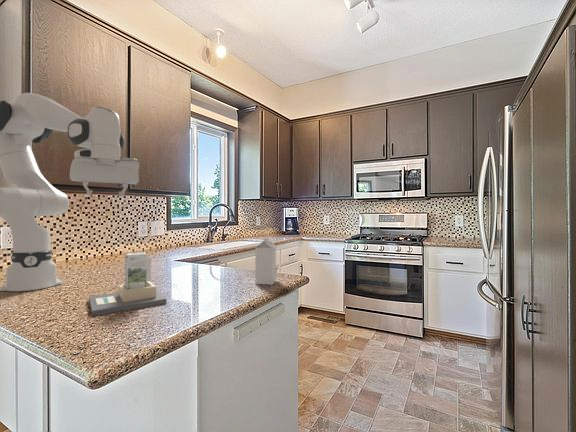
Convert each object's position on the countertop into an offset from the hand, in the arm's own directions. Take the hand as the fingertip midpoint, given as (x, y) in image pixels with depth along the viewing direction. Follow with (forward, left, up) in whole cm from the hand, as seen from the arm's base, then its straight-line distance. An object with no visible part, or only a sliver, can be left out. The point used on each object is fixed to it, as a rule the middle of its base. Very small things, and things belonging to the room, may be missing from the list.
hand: (106, 195), depth 101 cm
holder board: (+10, +5, -35) cm, 37 cm away
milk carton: (+14, +56, -35) cm, 68 cm away
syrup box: (+10, +7, -34) cm, 36 cm away
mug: (-7, +11, -35) cm, 38 cm away
